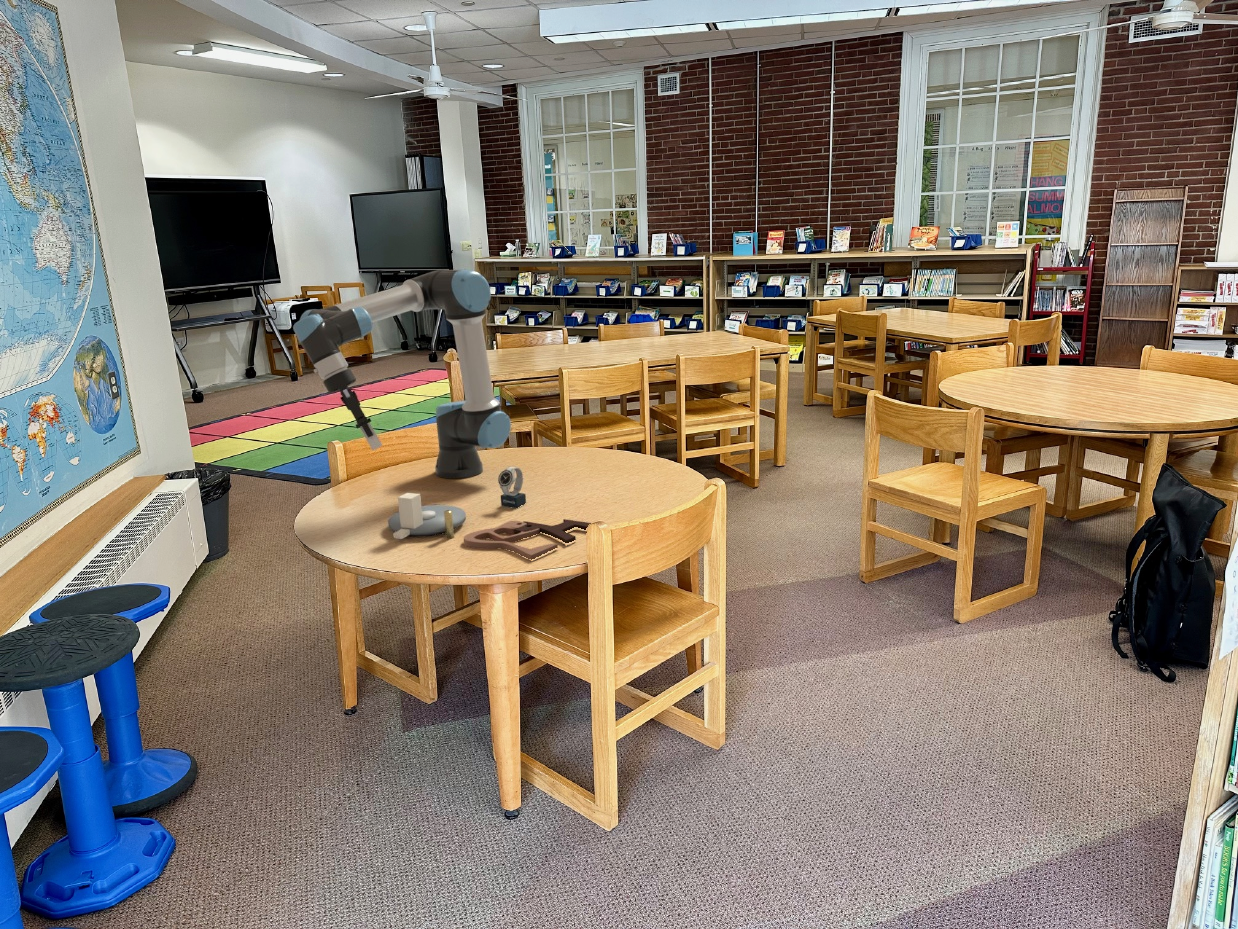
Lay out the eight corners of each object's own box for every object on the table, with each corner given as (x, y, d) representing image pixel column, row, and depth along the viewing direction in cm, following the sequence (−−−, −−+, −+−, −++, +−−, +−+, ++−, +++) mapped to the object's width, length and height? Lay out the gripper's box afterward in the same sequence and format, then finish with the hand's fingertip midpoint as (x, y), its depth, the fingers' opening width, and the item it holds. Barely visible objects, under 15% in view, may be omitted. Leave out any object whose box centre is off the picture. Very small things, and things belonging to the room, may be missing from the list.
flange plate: (416, 506, 234) (413, 474, 232) (479, 512, 227) (477, 480, 225) (364, 534, 213) (360, 500, 211) (432, 542, 206) (429, 506, 204)
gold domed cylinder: (449, 535, 215) (447, 509, 213) (455, 536, 214) (453, 510, 212) (444, 538, 213) (442, 511, 211) (450, 539, 212) (448, 512, 211)
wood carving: (603, 532, 215) (537, 515, 230) (602, 524, 215) (537, 508, 229) (524, 566, 195) (458, 545, 209) (524, 558, 194) (457, 537, 209)
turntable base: (424, 513, 233) (423, 510, 232) (470, 521, 225) (470, 517, 225) (383, 532, 219) (383, 528, 219) (432, 540, 212) (432, 536, 212)
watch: (496, 507, 236) (494, 470, 233) (514, 500, 243) (511, 463, 240) (513, 510, 233) (510, 472, 230) (529, 502, 240) (527, 465, 237)
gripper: (324, 382, 224) (364, 452, 228) (319, 378, 201) (363, 456, 204) (350, 370, 226) (389, 439, 230) (348, 364, 202) (391, 441, 206)
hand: (377, 447), depth 217 cm, fingers open, 13 cm apart
